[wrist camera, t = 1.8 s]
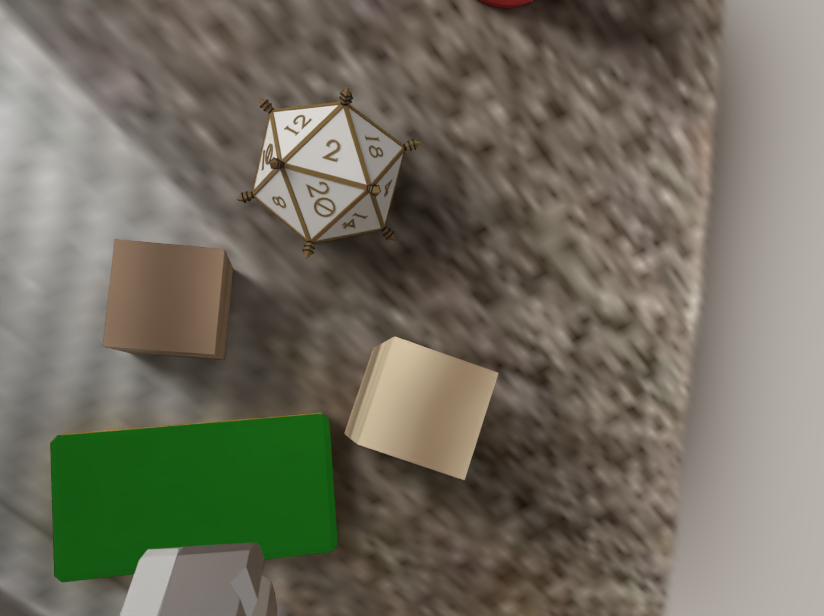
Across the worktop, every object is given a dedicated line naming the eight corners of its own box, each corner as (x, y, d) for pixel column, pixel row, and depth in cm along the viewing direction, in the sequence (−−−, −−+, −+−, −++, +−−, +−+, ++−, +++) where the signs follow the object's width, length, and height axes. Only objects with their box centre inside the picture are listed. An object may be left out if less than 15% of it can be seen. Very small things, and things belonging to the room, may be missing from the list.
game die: (353, 218, 48) (451, 264, 40) (221, 242, 43) (302, 300, 36) (349, 66, 44) (455, 86, 36) (205, 76, 40) (292, 101, 32)
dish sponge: (335, 543, 42) (338, 552, 40) (67, 572, 40) (53, 583, 38) (327, 412, 43) (329, 413, 41) (63, 433, 41) (49, 436, 38)
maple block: (343, 433, 42) (358, 444, 34) (373, 348, 43) (394, 336, 34) (428, 462, 43) (464, 480, 34) (456, 376, 44) (498, 372, 35)
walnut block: (129, 352, 41) (102, 346, 35) (139, 260, 42) (114, 239, 36) (224, 359, 42) (214, 354, 36) (233, 268, 43) (224, 249, 37)
